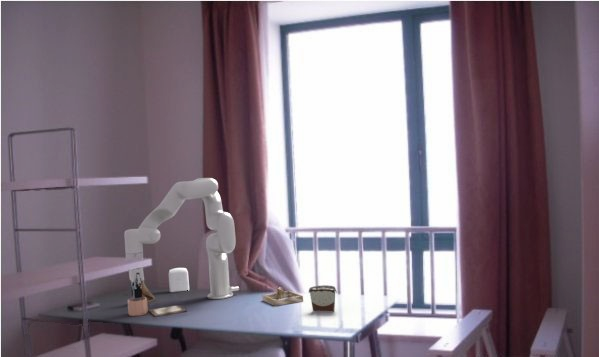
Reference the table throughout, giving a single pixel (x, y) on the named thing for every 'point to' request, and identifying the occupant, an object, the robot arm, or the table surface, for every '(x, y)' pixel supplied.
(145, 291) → the brown carved statuette
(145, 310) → the pen cup
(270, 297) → the artifact tray
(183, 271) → the photo printer
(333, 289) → the food container
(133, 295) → the marker
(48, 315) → the table surface
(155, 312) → the picture frame
